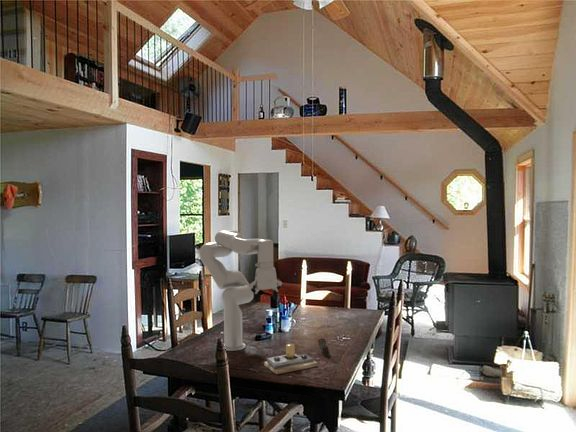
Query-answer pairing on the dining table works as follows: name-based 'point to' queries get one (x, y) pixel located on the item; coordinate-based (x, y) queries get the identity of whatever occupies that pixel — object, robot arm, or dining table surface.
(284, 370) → the birch board
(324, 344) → the hand tool
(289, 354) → the brass pin
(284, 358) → the grey slotted fixture board
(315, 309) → the dining table surface
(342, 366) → the dining table surface
